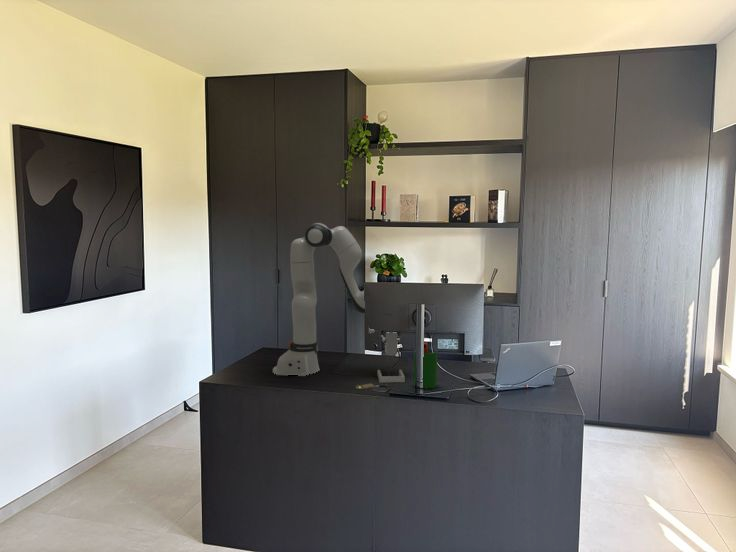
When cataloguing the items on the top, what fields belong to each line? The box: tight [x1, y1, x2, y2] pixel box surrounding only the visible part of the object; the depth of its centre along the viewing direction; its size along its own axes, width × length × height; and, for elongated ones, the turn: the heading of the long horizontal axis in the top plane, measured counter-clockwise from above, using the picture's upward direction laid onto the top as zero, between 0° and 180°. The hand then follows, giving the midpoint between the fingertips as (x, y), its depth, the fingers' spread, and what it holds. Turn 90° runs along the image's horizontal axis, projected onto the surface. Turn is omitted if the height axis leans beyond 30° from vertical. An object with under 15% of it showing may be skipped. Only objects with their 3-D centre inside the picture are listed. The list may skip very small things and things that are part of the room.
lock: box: [384, 332, 398, 355], centre depth 243 cm, size 5×6×11 cm
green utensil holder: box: [413, 342, 439, 390], centre depth 233 cm, size 10×9×20 cm
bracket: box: [376, 369, 406, 384], centre depth 244 cm, size 11×11×2 cm
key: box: [355, 383, 375, 390], centre depth 232 cm, size 8×3×1 cm, turn 119°
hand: (391, 341), depth 242 cm, fingers closed on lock, 5 cm apart
